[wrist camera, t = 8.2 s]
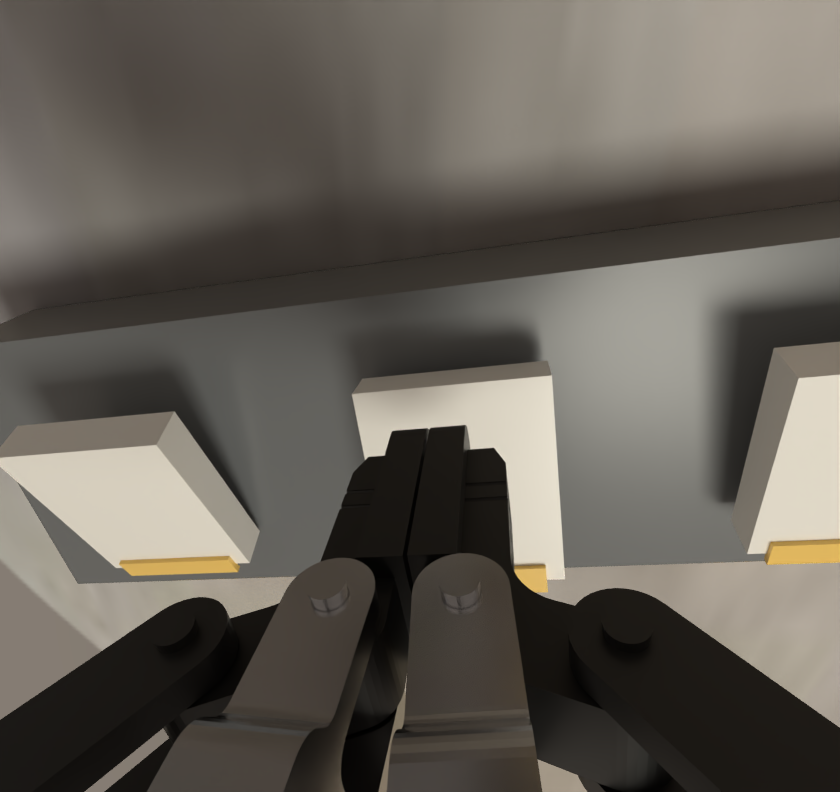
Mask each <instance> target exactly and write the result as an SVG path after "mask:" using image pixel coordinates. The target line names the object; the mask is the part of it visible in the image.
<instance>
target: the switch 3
mask: <svg viewBox="0 0 840 792" xmlns="http://www.w3.org/2000/svg"><path fill="white" fill-rule="evenodd" d="M731 521H732V523H733V525H734V527H735V530H736V532H737V534H738V536H739V538H740V540H741V542H742V544H743V546H744V549H745V551H746V553H747V554H764V553H766V554H765V557H764V560H765V562H766V564H767V565H772V564H803V563H835V562H840V342H831V343H820V344H810V345H799V346H789V347H778V348H774V349H773V353H772V357H771V361H770V365H769V369H768V373H767V377H766V381H765V385H764V389H763V393H762V397H761V401H760V405H759V409H758V413H757V417H756V421H755V425H754V429H753V433H752V437H751V441H750V445H749V449H748V453H747V457H746V461H745V466H744V470H743V474H742V478H741V482H740V486H739V490H738V494H737V498H736V502H735V506H734V510H733V514H732V518H731Z"/></svg>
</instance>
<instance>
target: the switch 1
mask: <svg viewBox="0 0 840 792" xmlns="http://www.w3.org/2000/svg"><path fill="white" fill-rule="evenodd" d="M0 467H1V468H2V469H3V470H4V471H6V472H7V473H8V474H9V475H10V476H11V477H12V478H14V479H15V480H16V481H17V482H18V483H19V484H20V485H22V486H23V487H24V488H25V489H26V490H27V491H28V492H30V493H31V494H32V495H33V496H34V497H35V498H36V499H38V500H39V501H40V502H41V503H42V504H43V505H44V506H46V507H47V508H48V509H49V510H50V511H51V512H52V513H54V514H55V515H56V516H57V517H58V518H59V519H61V520H62V521H63V522H64V523H65V524H66V525H67V526H69V527H70V528H71V529H72V530H73V531H74V532H75V533H77V534H78V535H79V536H80V537H81V538H82V539H83V540H85V541H86V542H87V543H88V544H89V545H90V546H91V547H93V548H94V549H95V550H96V551H97V552H98V553H99V554H101V555H102V556H103V557H104V558H105V559H106V560H107V561H109V562H110V563H111V564H112V565H113V566H114V567H115V568H123V569H124V570H126V571H127V572H128V573H129V574H130V575H131V576H144V575H173V574H201V573H229V572H238V571H239V568H240V566H239V565H238V563H250V561H251V558H252V554H253V551H254V548H255V545H256V542H257V538H258V535H259V532H260V531H259V529H258V528H257V527H256V525H255V524H254V522H253V521H252V520H251V518H250V517H249V515H248V514H247V513H246V511H245V510H244V508H243V507H242V506H241V504H240V503H239V501H238V500H237V498H236V497H235V496H234V494H233V493H232V491H231V490H230V489H229V487H228V486H227V484H226V483H225V482H224V480H223V479H222V477H221V476H220V475H219V473H218V472H217V470H216V469H215V468H214V466H213V465H212V463H211V462H210V461H209V459H208V458H207V456H206V455H205V454H204V452H203V451H202V449H201V448H200V446H199V445H198V444H197V442H196V441H195V439H194V438H193V437H192V435H191V434H190V432H189V431H188V430H187V428H186V427H185V425H184V424H183V423H182V421H181V420H180V418H179V417H178V416H177V414H176V413H175V411H172V412H162V413H151V414H140V415H129V416H119V417H108V418H97V419H86V420H76V421H65V422H54V423H43V424H33V425H22V426H17V427H16V428H15V429H14V431H13V432H12V433H11V434H10V435H9V437H8V438H7V439H6V440H5V442H4V443H3V444H2V445H1V447H0Z"/></svg>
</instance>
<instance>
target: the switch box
mask: <svg viewBox="0 0 840 792" xmlns="http://www.w3.org/2000/svg"><path fill="white" fill-rule="evenodd" d="M831 342H840V201H832V202H825V203H817V204H810V205H803V206H795V207H788V208H781V209H773V210H766V211H759V212H751V213H744V214H736V215H729V216H722V217H714V218H707V219H700V220H692V221H685V222H677V223H670V224H663V225H655V226H648V227H641V228H633V229H626V230H619V231H611V232H604V233H596V234H589V235H582V236H574V237H567V238H560V239H552V240H545V241H537V242H530V243H523V244H515V245H508V246H501V247H493V248H486V249H479V250H471V251H464V252H456V253H449V254H442V255H434V256H427V257H420V258H412V259H405V260H397V261H390V262H383V263H375V264H368V265H361V266H353V267H346V268H339V269H331V270H324V271H316V272H309V273H302V274H294V275H287V276H280V277H272V278H265V279H258V280H250V281H243V282H235V283H228V284H221V285H213V286H206V287H199V288H191V289H184V290H176V291H169V292H162V293H154V294H147V295H140V296H132V297H125V298H118V299H110V300H103V301H95V302H88V303H81V304H73V305H66V306H59V307H51V308H44V309H36V310H32V311H30V312H28V313H25V314H23V315H21V316H18V317H16V318H14V319H11V320H9V321H6V322H4V323H2V324H0V447H1V445H2V444H3V443H4V442H5V440H6V439H7V438H8V437H9V435H10V434H11V433H12V432H13V431H14V429H15V428H16V427H17V426H22V425H33V424H43V423H54V422H65V421H76V420H86V419H97V418H108V417H119V416H129V415H140V414H151V413H162V412H172V411H175V413H176V414H177V416H178V417H179V418H180V420H181V421H182V423H183V424H184V425H185V427H186V428H187V430H188V431H189V432H190V434H191V435H192V437H193V438H194V439H195V441H196V442H197V444H198V445H199V446H200V448H201V449H202V451H203V452H204V454H205V455H206V456H207V458H208V459H209V461H210V462H211V463H212V465H213V466H214V468H215V469H216V470H217V472H218V473H219V475H220V476H221V477H222V479H223V480H224V482H225V483H226V484H227V486H228V487H229V489H230V490H231V491H232V493H233V494H234V496H235V497H236V498H237V500H238V501H239V503H240V504H241V506H242V507H243V508H244V510H245V511H246V513H247V514H248V515H249V517H250V518H251V520H252V521H253V522H254V524H255V525H256V527H257V528H258V529H259V531H260V532H259V535H258V538H257V542H256V545H255V548H254V551H253V554H252V558H251V561H250V563H238V565H239V566H240V568H239V571H238V572H229V573H201V574H173V575H144V576H131V575H130V574H129V573H128V572H127V571H126V570H124V569H123V568H115V567H114V566H113V565H112V564H111V563H110V562H109V561H107V560H106V559H105V558H104V557H103V556H102V555H101V554H99V553H98V552H97V551H96V550H95V549H94V548H93V547H91V546H90V545H89V544H88V543H87V542H86V541H85V540H83V539H82V538H81V537H80V536H79V535H78V534H77V533H75V532H74V531H73V530H72V529H71V528H70V527H69V526H67V525H66V524H65V523H64V522H63V521H62V520H61V519H59V518H58V517H57V516H56V515H55V514H54V513H52V512H51V511H50V510H49V509H48V508H47V507H46V506H44V505H43V504H42V503H41V502H40V501H39V500H38V499H36V498H35V497H34V496H33V495H32V494H31V493H30V492H28V491H27V490H26V489H25V488H24V487H23V486H22V485H20V484H19V483H18V484H19V486H20V487H21V489H22V491H23V492H24V494H25V496H26V498H27V499H28V501H29V503H30V504H31V506H32V508H33V509H34V511H35V513H36V514H37V516H38V518H39V519H40V521H41V523H42V524H43V526H44V528H45V529H46V531H47V533H48V534H49V536H50V538H51V539H52V541H53V543H54V544H55V546H56V548H57V549H58V551H59V553H60V554H61V556H62V558H63V560H64V561H65V563H66V565H67V566H68V568H69V570H70V571H71V573H72V575H73V576H74V578H75V580H76V581H77V583H78V584H83V583H114V582H144V581H175V580H206V579H236V578H266V577H295V576H298V575H299V574H300V573H301V572H303V571H304V570H305V569H307V568H309V567H310V566H312V565H314V564H316V563H319V562H320V561H321V559H322V556H323V553H324V550H325V548H326V545H327V542H328V539H329V537H330V534H331V531H332V529H333V526H334V523H335V520H336V518H337V515H338V512H339V509H341V504H342V501H343V499H344V496H345V494H347V491H346V490H347V488H348V485H349V482H350V480H351V477H352V474H353V472H354V471H355V470H356V469H357V468H358V467H359V466H360V465H361V464H362V463H363V462H364V461H365V458H364V453H363V448H362V443H361V438H360V433H359V428H358V423H357V418H356V413H355V408H354V403H353V398H352V393H353V392H354V390H355V389H356V387H357V386H358V384H359V383H360V382H361V380H362V379H364V378H374V377H385V376H395V375H405V374H415V373H425V372H436V371H446V370H456V369H466V368H476V367H487V366H497V365H507V364H517V363H527V362H538V361H548V364H549V367H550V371H551V374H552V384H553V399H554V415H555V430H556V446H557V462H558V477H559V493H560V508H561V524H562V540H563V555H564V568H567V567H598V566H628V565H658V564H688V563H720V562H750V561H765V560H764V557H765V554H766V553H764V554H747V553H746V551H745V549H744V546H743V544H742V542H741V540H740V538H739V536H738V534H737V532H736V530H735V527H734V525H733V523H732V521H731V518H732V514H733V510H734V506H735V502H736V498H737V494H738V490H739V486H740V482H741V478H742V474H743V470H744V466H745V461H746V457H747V453H748V449H749V445H750V441H751V437H752V433H753V429H754V425H755V421H756V417H757V413H758V409H759V405H760V401H761V397H762V393H763V389H764V385H765V381H766V377H767V373H768V369H769V365H770V361H771V357H772V353H773V349H774V348H778V347H789V346H799V345H810V344H820V343H831Z"/></svg>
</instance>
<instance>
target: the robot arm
mask: <svg viewBox="0 0 840 792" xmlns="http://www.w3.org/2000/svg"><path fill="white" fill-rule="evenodd" d="M346 491H347V494H345V496H344V499H343V501H342V504H341V509H339V512H338V515H337V518H336V520H335V523H334V526H333V529H332V531H331V534H330V537H329V539H328V542H327V545H326V548H325V550H324V553H323V556H322V559H321V561H320V562H319V563H316V564H314V565H312V566H310V567H309V568H307V569H305V570H304V571H303V572H301V573H300V574H299V575H298V576H297V577H296V578H295V579H294V580H293V581H292V582H291V583H290V585H289V586H288V588H287V590H286V591H285V593H284V595H283V597H282V599H281V601H280V603H278V604H276V605H273V606H270V607H267V608H264V609H261V610H257V611H254V612H251V613H247V614H244V615H241V616H237V617H234V618H231V619H230V618H229V616H228V613H227V611H226V609H225V608H224V606H223V605H222V604H221V603H220V602H219V601H217V600H214V599H211V598H206V597H198V598H191V599H187V600H183V601H181V602H178V603H175V604H173V605H171V606H169V607H167V608H166V609H164V610H162V611H161V612H159V613H158V614H156V615H155V616H153V617H152V618H150V619H149V620H147V621H146V622H144V623H143V624H141V625H140V626H138V627H137V628H135V629H134V630H132V631H131V632H129V633H128V634H126V635H125V636H124V637H122V638H121V639H119V640H118V641H116V642H115V643H113V644H112V645H110V646H109V647H107V648H106V649H104V650H103V651H101V652H100V653H99V654H97V655H95V656H94V657H92V658H91V659H90V660H88V661H87V662H85V663H84V664H82V665H81V666H79V667H78V668H76V669H75V670H73V671H72V672H71V673H69V674H67V675H66V676H65V677H63V678H61V679H60V680H58V681H57V682H56V683H54V684H53V685H51V686H50V687H48V688H47V689H45V690H44V691H42V692H41V693H39V694H38V695H36V696H35V697H33V698H32V699H30V700H29V701H28V702H26V703H24V704H23V705H22V706H20V707H19V708H17V709H16V710H14V711H13V712H11V713H10V714H8V715H7V716H5V717H4V718H3V719H1V720H0V792H84V791H86V790H87V789H88V788H89V787H91V786H92V785H93V784H94V783H96V782H97V781H98V780H99V779H101V778H102V777H103V776H104V775H105V774H107V773H108V772H109V771H110V770H112V769H113V768H114V767H115V766H117V765H118V764H119V763H120V762H122V761H123V760H124V759H125V758H126V757H128V756H129V755H130V754H131V753H133V752H134V751H135V750H136V749H138V748H139V747H140V746H141V745H143V744H144V743H145V742H146V741H148V740H149V739H150V738H151V737H152V736H154V735H155V734H156V733H157V732H158V731H160V730H161V729H162V728H164V730H165V731H166V733H167V735H168V736H169V739H168V740H167V741H165V742H164V743H163V744H162V745H160V746H159V747H158V748H157V749H156V750H154V751H153V752H152V753H151V754H150V755H148V756H147V757H146V758H145V759H144V760H142V761H141V762H140V763H139V764H137V765H136V766H135V767H134V768H133V769H131V770H130V771H129V772H128V773H127V774H125V775H124V776H123V777H122V778H121V779H119V780H118V781H117V782H116V783H115V784H113V785H112V786H111V787H110V788H108V789H107V790H106V791H105V792H542V788H541V781H540V774H539V767H538V761H537V759H539V760H541V761H544V762H546V763H549V764H551V765H554V766H556V767H559V768H561V769H564V770H566V771H569V772H572V773H574V774H577V775H578V777H579V779H580V781H581V782H582V784H583V786H584V787H585V789H586V790H587V792H840V728H839V727H838V726H836V725H835V724H834V723H832V722H831V721H829V720H828V719H827V718H825V717H824V716H822V715H821V714H819V713H818V712H817V711H815V710H814V709H812V708H811V707H810V706H808V705H807V704H805V703H804V702H803V701H801V700H800V699H798V698H797V697H795V696H794V695H793V694H791V693H790V692H788V691H787V690H786V689H784V688H783V687H781V686H780V685H779V684H777V683H776V682H774V681H773V680H771V679H770V678H769V677H767V676H766V675H764V674H763V673H762V672H760V671H759V670H757V669H756V668H755V667H753V666H752V665H750V664H749V663H747V662H746V661H745V660H743V659H742V658H740V657H739V656H738V655H736V654H735V653H733V652H732V651H731V650H729V649H728V648H726V647H725V646H723V645H722V644H721V643H719V642H718V641H716V640H715V639H714V638H712V637H711V636H709V635H708V634H706V633H705V632H704V631H702V630H701V629H699V628H698V627H697V626H695V625H694V624H692V623H691V622H690V621H688V620H687V619H685V618H684V617H682V616H681V615H680V614H678V613H677V612H675V611H674V610H673V609H671V608H670V607H668V606H667V605H666V604H664V603H663V602H661V601H659V600H658V599H656V598H654V597H652V596H650V595H648V594H645V593H642V592H639V591H635V590H630V589H621V588H612V589H604V590H599V591H596V592H594V593H591V594H589V595H587V596H586V597H584V598H583V599H582V600H580V601H579V602H578V603H577V604H576V606H574V605H570V604H566V603H562V602H558V601H555V600H551V599H548V598H545V597H543V596H541V595H539V594H537V593H535V592H534V591H532V590H530V589H529V588H528V587H527V586H525V585H524V584H523V583H522V582H521V581H520V579H519V578H518V577H517V575H516V574H515V568H514V551H513V534H512V520H511V510H510V500H509V490H508V481H507V471H506V462H505V461H504V460H503V459H502V457H501V456H500V455H499V453H498V452H497V451H496V450H495V448H484V449H470V442H469V435H468V429H467V426H466V425H458V426H446V427H433V428H430V430H429V429H428V428H422V429H409V430H396V431H392V432H391V435H390V439H389V442H388V445H387V449H386V452H385V456H372V457H368V458H367V459H366V460H365V461H364V462H363V463H362V464H361V465H360V466H359V467H358V468H357V469H356V470H355V471H354V472H353V474H352V477H351V480H350V482H349V485H348V488H347V490H346ZM406 676H407V683H406ZM405 683H406V694H405V690H404V689H405Z"/></svg>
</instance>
